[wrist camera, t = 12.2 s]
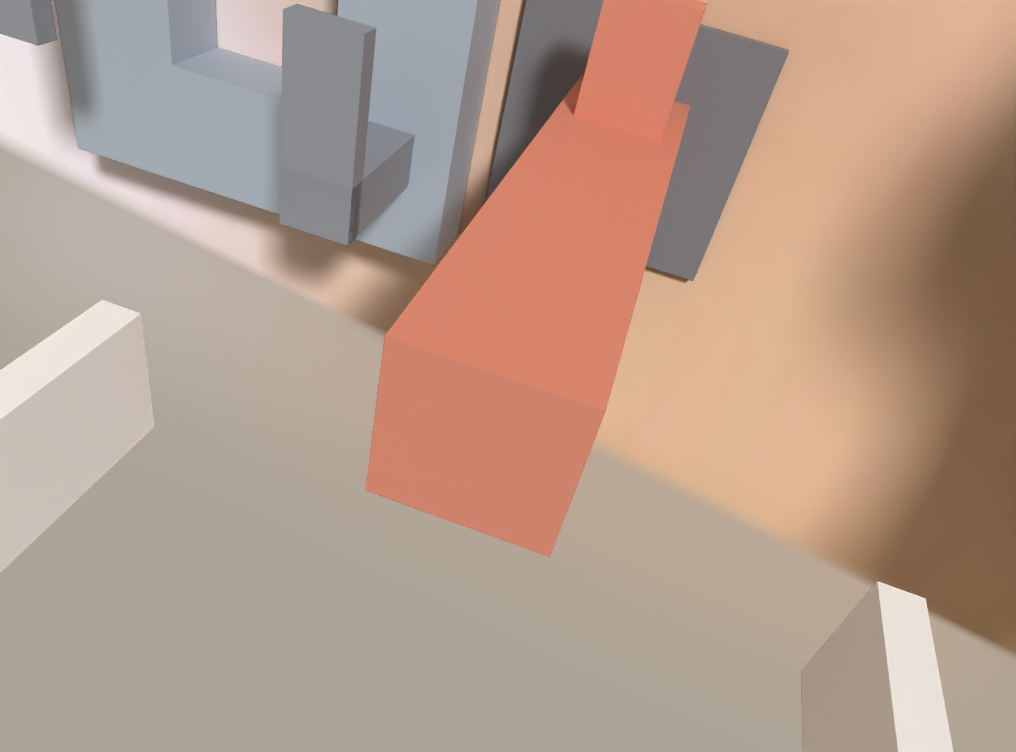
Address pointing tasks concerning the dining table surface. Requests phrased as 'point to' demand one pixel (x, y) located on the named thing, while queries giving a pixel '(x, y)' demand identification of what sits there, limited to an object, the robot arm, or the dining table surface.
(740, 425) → the dining table surface
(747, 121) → the mat
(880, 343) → the dining table surface
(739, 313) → the dining table surface
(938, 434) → the dining table surface
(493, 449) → the orange tabbed bar
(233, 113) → the eye block
